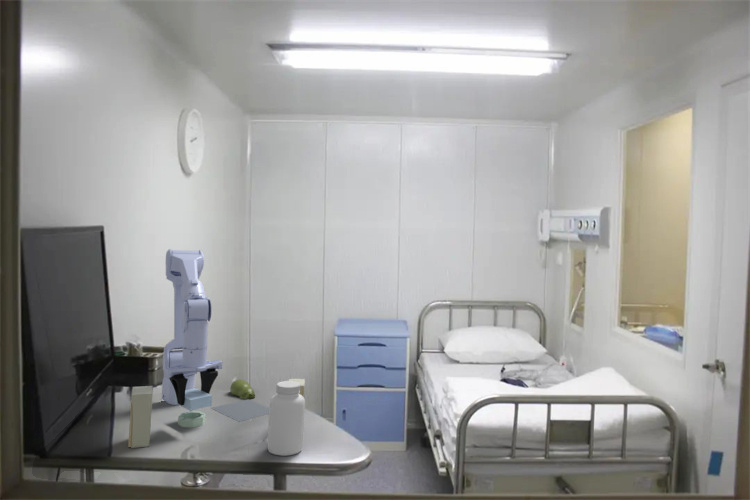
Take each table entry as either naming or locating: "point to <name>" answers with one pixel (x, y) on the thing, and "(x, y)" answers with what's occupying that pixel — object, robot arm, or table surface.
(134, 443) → the skincare box
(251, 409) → the mat
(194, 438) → the table surface
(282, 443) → the pill bottle
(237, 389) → the pear
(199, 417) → the bowl
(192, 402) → the block
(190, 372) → the robot arm
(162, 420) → the table surface
